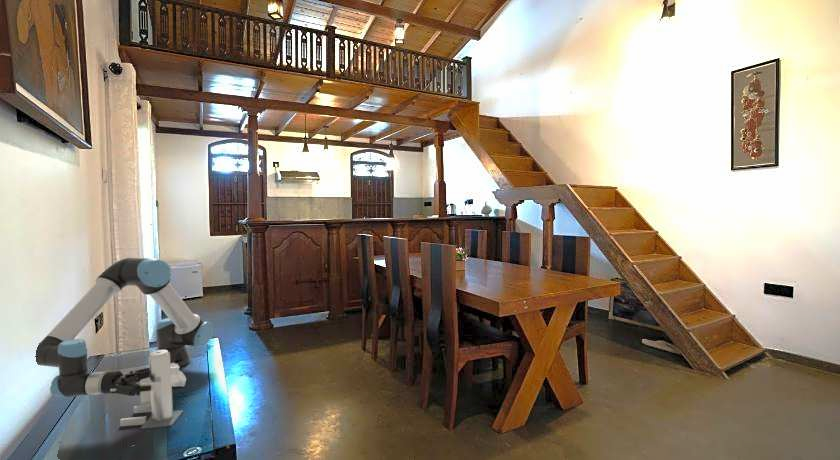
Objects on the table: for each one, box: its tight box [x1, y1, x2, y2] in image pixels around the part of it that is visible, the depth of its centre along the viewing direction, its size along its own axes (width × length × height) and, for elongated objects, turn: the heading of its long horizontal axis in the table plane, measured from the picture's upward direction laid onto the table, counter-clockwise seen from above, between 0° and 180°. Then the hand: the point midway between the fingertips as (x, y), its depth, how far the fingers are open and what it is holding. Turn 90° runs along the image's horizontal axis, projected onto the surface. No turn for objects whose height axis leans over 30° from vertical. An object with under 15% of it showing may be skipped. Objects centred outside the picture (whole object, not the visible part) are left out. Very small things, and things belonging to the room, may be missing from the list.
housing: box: [119, 377, 152, 427], centre depth 152 cm, size 20×9×12 cm, turn 10°
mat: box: [140, 409, 184, 430], centre depth 146 cm, size 10×10×1 cm
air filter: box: [148, 349, 174, 423], centre depth 145 cm, size 6×6×25 cm
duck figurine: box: [170, 363, 187, 388], centre depth 173 cm, size 12×8×11 cm
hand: (170, 377), depth 145 cm, fingers open, 13 cm apart
